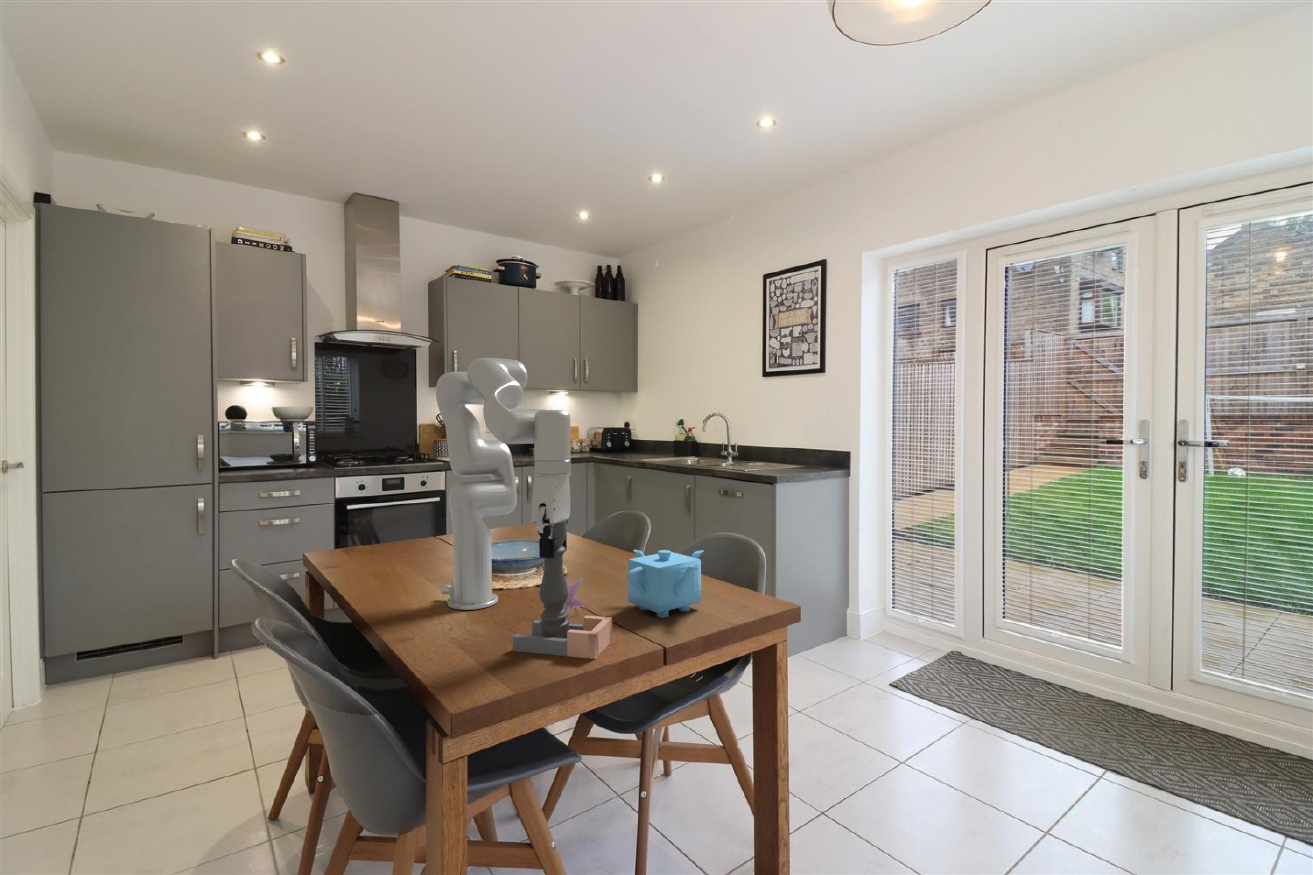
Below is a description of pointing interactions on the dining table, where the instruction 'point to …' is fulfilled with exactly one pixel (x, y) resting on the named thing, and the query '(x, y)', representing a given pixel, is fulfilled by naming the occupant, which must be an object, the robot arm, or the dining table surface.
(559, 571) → the candle holder
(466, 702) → the dining table surface
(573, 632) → the guide channel
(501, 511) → the robot arm
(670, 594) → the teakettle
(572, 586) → the lily
